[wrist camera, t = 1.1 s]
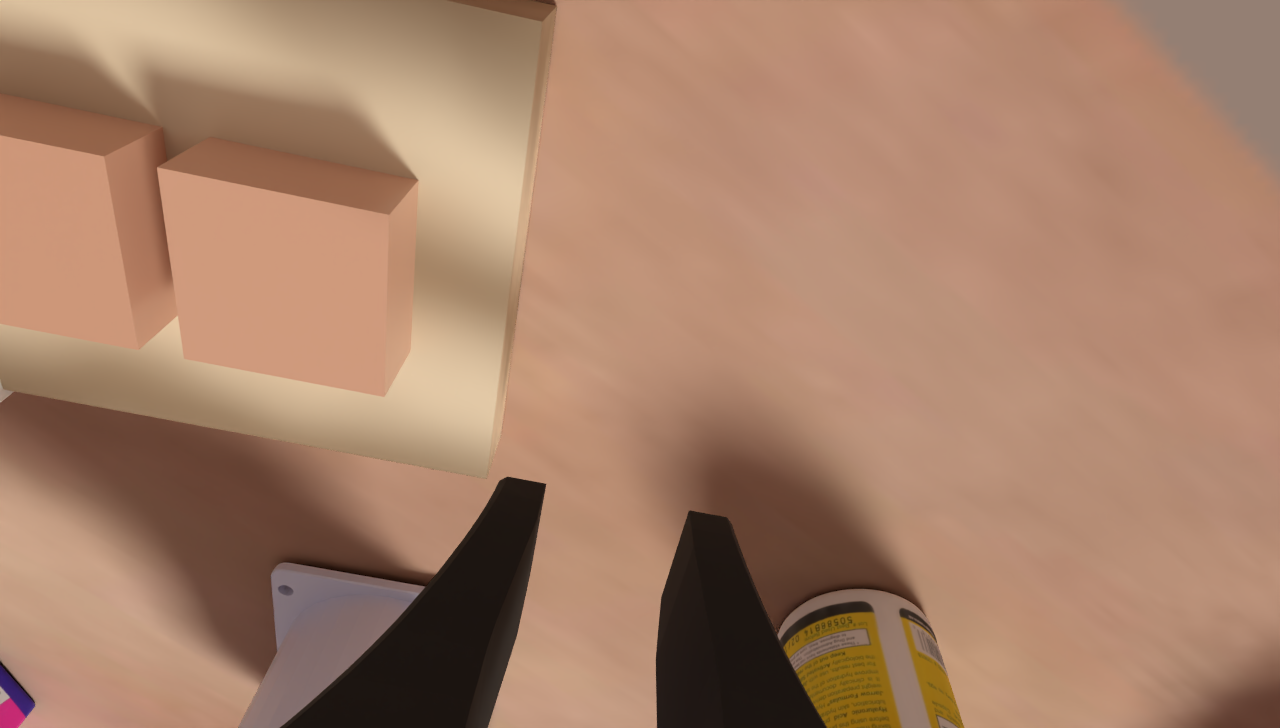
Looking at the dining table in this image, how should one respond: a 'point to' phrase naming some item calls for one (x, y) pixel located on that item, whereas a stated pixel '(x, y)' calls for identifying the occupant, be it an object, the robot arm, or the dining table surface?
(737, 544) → the robot arm
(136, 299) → the tile
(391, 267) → the tile
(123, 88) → the plate
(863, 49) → the dining table surface
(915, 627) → the supplement bottle
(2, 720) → the supplement box
